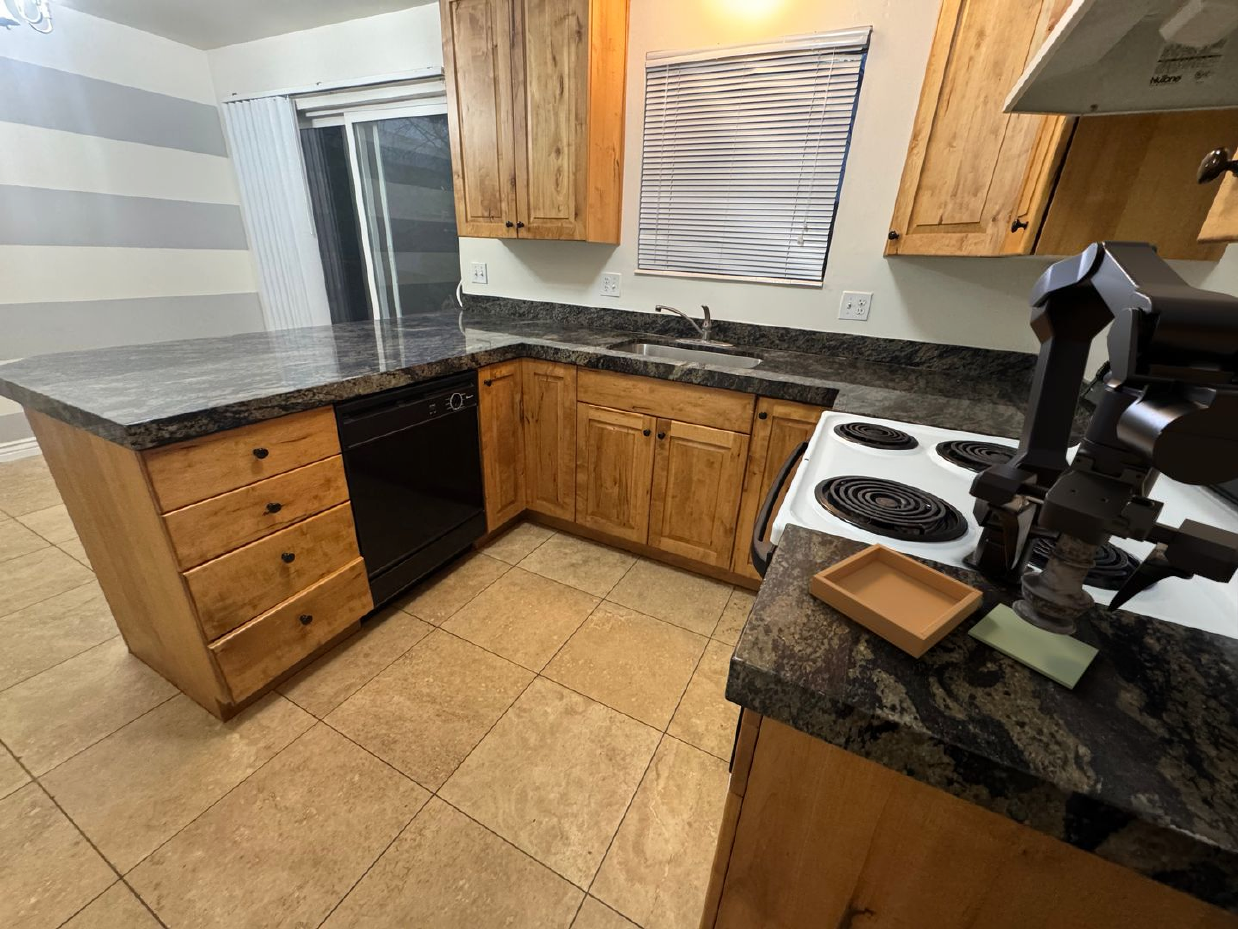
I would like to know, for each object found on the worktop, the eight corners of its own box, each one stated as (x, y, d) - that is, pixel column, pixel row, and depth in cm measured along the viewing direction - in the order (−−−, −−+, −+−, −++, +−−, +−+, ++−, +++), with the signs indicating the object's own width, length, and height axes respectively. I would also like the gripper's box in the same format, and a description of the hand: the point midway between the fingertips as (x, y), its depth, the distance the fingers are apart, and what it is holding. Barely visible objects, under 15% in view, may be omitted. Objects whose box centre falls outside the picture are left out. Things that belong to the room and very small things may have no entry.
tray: (873, 557, 67) (877, 542, 66) (976, 609, 58) (983, 592, 57) (808, 592, 59) (812, 575, 58) (917, 659, 50) (924, 640, 49)
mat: (999, 606, 59) (1000, 603, 59) (1097, 653, 52) (1099, 650, 52) (967, 633, 54) (968, 631, 54) (1071, 690, 47) (1073, 686, 47)
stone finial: (1095, 634, 50) (1151, 530, 45) (1047, 639, 49) (1100, 533, 44) (1039, 597, 55) (1084, 500, 50) (995, 601, 54) (1037, 502, 49)
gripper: (972, 427, 47) (924, 566, 53) (1282, 507, 33) (1170, 683, 39) (1015, 412, 53) (968, 538, 59) (1292, 474, 39) (1193, 631, 45)
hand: (1056, 588), depth 50 cm, fingers closed on stone finial, 8 cm apart
